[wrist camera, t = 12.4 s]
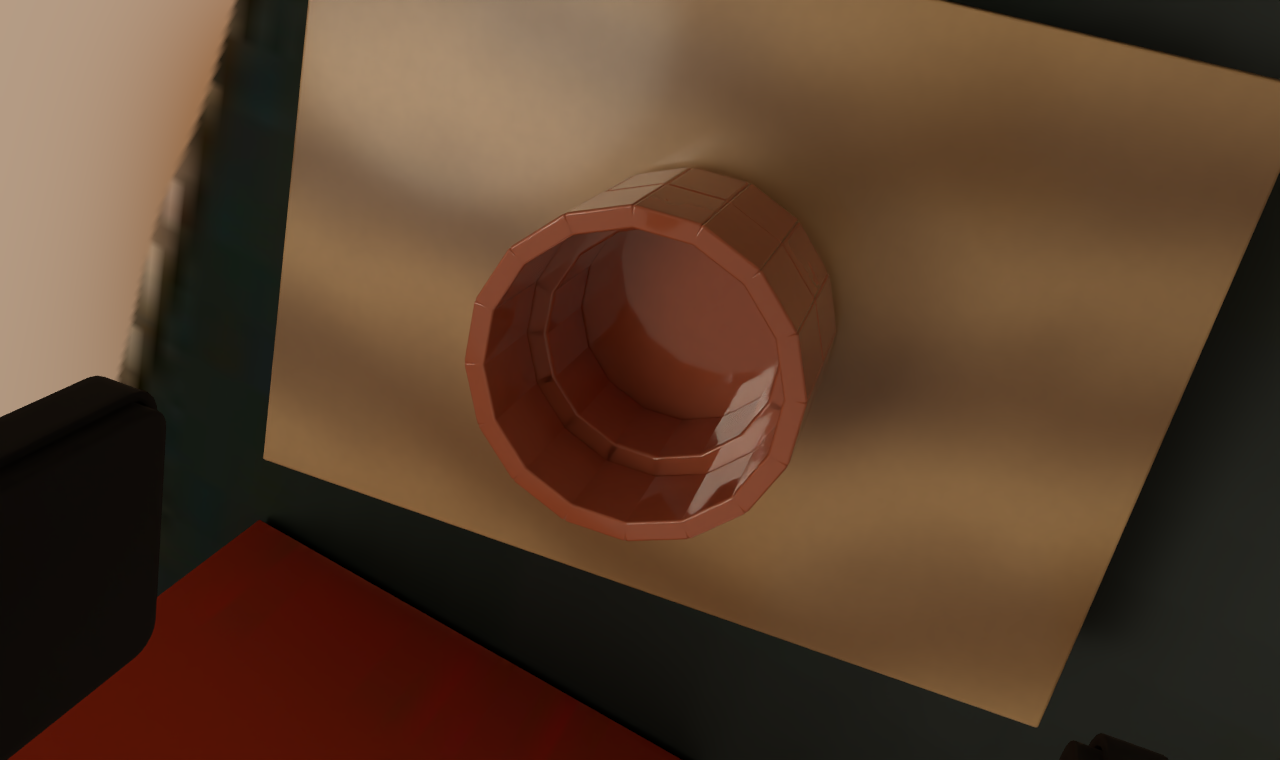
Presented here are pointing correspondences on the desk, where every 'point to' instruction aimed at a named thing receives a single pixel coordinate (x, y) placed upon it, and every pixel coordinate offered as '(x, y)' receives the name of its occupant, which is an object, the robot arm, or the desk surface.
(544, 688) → the file binder
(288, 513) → the desk surface
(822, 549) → the oak riser board
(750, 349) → the dip bowl
